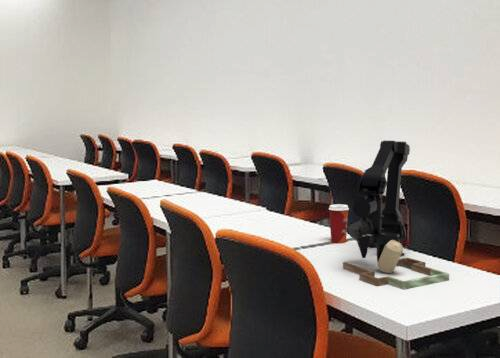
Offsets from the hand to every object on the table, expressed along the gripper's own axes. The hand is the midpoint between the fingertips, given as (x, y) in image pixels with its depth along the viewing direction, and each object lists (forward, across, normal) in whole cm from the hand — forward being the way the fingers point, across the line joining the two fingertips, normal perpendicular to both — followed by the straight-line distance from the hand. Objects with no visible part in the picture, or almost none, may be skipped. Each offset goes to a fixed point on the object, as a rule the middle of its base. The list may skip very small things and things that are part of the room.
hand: (371, 260), depth 209 cm
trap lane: (+2, +10, 0) cm, 11 cm away
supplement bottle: (+3, -24, +21) cm, 32 cm away
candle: (+1, +6, 0) cm, 6 cm away
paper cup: (+3, -37, +15) cm, 40 cm away
